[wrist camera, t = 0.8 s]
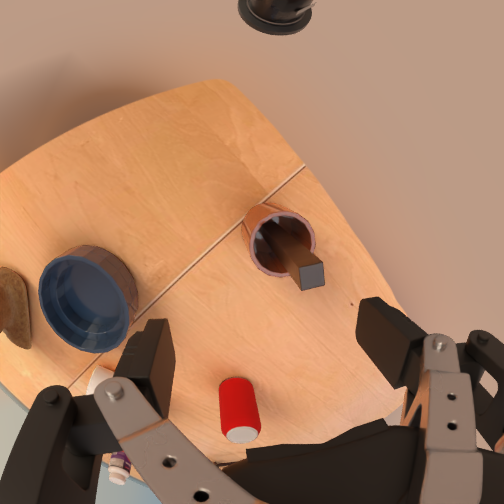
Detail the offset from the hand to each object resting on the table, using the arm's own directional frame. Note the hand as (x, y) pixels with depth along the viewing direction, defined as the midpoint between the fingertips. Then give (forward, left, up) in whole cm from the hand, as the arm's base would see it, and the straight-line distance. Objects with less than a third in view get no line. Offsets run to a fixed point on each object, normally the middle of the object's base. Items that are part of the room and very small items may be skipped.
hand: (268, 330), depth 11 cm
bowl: (+6, -23, -28) cm, 37 cm away
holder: (+2, +5, -28) cm, 29 cm away
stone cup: (+5, -44, -28) cm, 53 cm away
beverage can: (+29, -5, -28) cm, 41 cm away
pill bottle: (+50, -39, -28) cm, 70 cm away
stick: (+2, +5, -28) cm, 28 cm away
